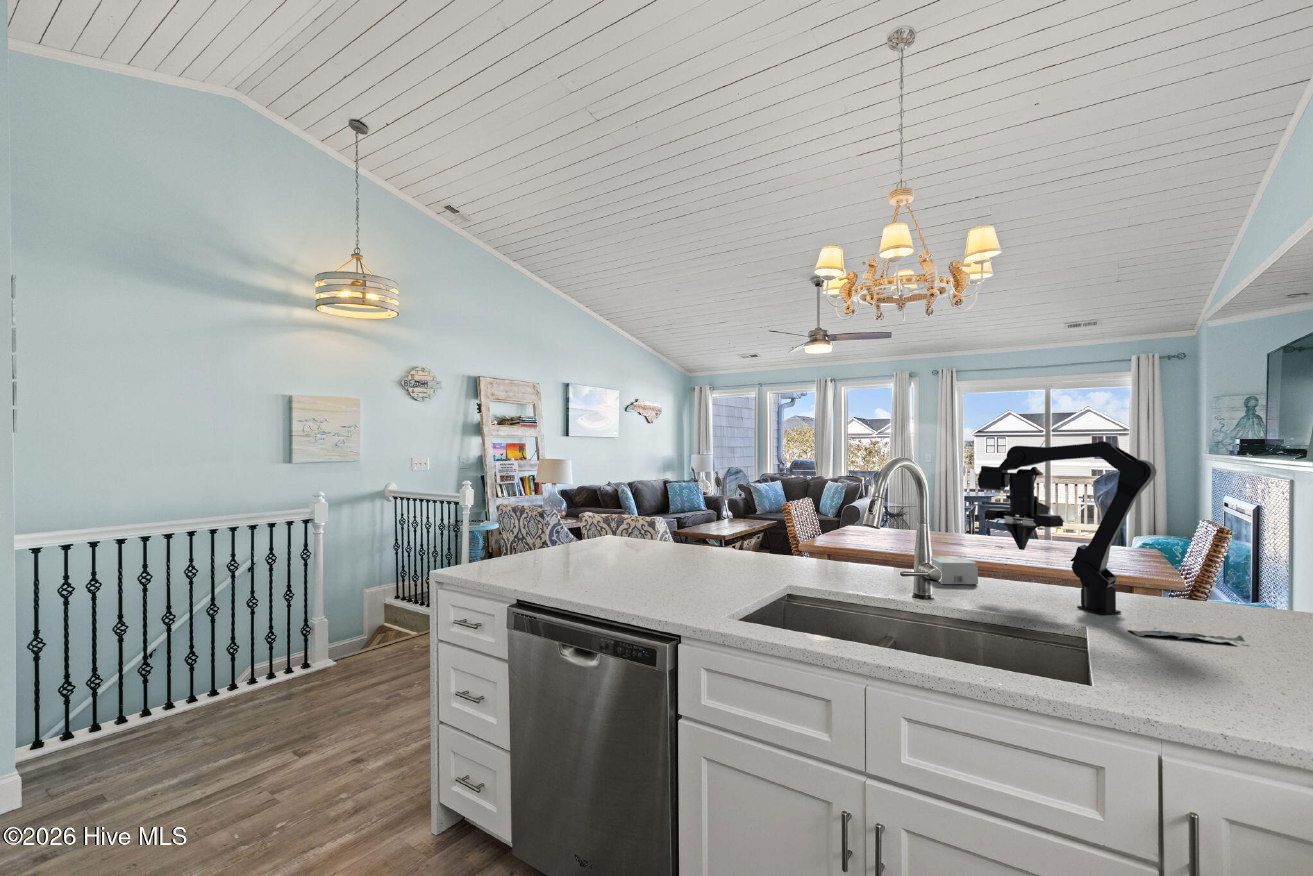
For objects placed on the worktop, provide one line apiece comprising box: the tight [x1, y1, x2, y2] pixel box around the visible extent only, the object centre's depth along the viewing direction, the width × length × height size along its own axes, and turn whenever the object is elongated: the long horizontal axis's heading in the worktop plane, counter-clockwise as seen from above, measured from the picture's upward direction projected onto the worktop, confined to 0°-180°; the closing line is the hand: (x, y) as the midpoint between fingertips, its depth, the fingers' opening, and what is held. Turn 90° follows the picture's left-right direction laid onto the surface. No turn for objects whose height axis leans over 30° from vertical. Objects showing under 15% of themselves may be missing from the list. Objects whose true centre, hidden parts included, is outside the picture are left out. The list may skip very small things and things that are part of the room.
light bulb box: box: [931, 555, 979, 585], centre depth 181 cm, size 11×7×11 cm
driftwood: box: [1127, 627, 1250, 647], centre depth 128 cm, size 21×7×2 cm, turn 68°
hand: (1021, 549), depth 161 cm, fingers closed
